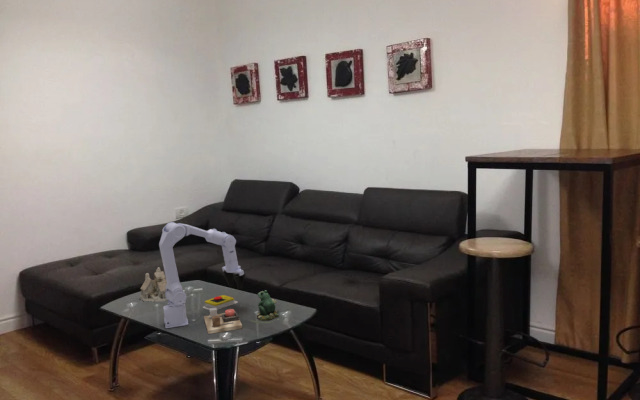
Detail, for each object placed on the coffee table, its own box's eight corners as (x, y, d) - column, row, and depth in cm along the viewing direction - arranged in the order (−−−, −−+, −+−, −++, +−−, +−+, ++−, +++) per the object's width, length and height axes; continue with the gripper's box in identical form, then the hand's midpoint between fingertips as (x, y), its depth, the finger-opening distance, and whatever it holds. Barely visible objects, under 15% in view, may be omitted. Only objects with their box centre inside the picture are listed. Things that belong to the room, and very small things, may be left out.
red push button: (226, 317, 232) (225, 312, 232) (224, 314, 236) (224, 309, 236) (235, 315, 233) (235, 311, 233) (234, 312, 237) (233, 308, 237)
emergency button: (200, 299, 256) (226, 291, 267) (201, 308, 257) (227, 299, 268) (212, 303, 250) (238, 294, 261) (213, 312, 250) (239, 303, 261)
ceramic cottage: (138, 296, 279) (136, 268, 276) (170, 291, 286) (169, 264, 283) (144, 307, 265) (142, 277, 262) (177, 301, 273) (176, 272, 270)
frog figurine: (272, 306, 253) (270, 282, 251) (297, 315, 240) (295, 289, 238) (240, 317, 241) (238, 292, 240) (264, 327, 228) (262, 300, 226)
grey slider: (210, 318, 236) (210, 310, 235) (210, 316, 239) (209, 308, 238) (217, 317, 237) (217, 309, 236) (216, 315, 240) (216, 307, 239)
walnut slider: (213, 326, 226) (212, 318, 226) (212, 324, 229) (211, 316, 228) (220, 325, 227) (219, 317, 226) (219, 323, 230) (219, 315, 229)
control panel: (208, 334, 223) (207, 327, 223) (204, 319, 240) (203, 313, 240) (242, 328, 227) (241, 321, 227) (235, 314, 244) (235, 308, 244)
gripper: (247, 258, 246) (252, 287, 249) (229, 254, 257) (234, 282, 260) (234, 263, 242) (239, 292, 245) (216, 259, 252) (221, 287, 255)
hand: (236, 287), depth 252 cm, fingers open, 7 cm apart
